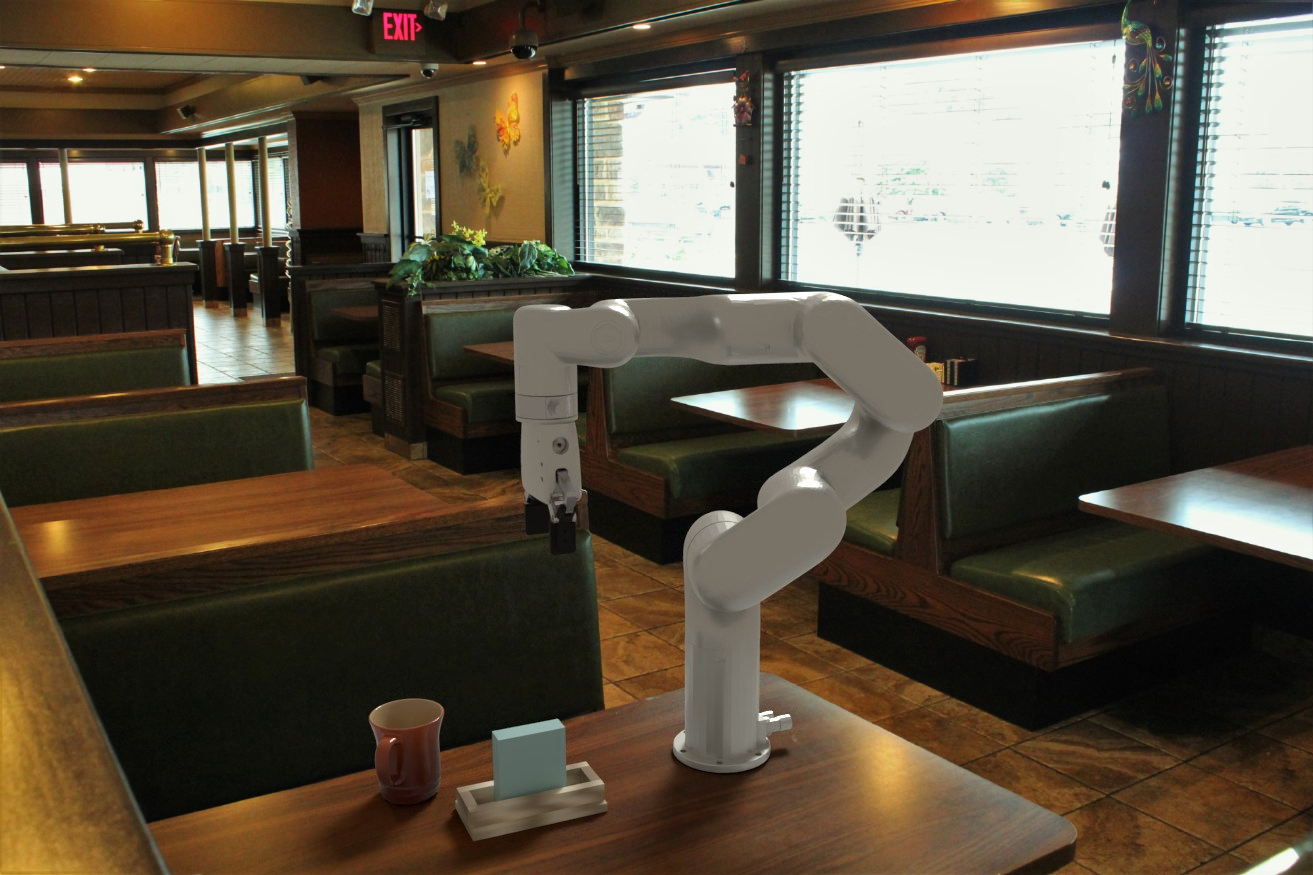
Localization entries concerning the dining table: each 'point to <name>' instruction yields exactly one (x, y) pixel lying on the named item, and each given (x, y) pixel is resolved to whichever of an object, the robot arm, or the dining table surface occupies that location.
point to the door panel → (529, 759)
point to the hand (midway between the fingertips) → (549, 543)
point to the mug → (407, 749)
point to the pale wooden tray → (530, 804)
